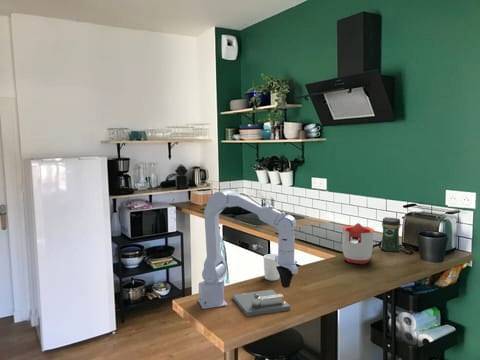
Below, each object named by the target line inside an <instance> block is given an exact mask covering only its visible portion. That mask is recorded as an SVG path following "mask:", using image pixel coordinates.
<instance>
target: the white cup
mask: <svg viewBox="0 0 480 360" xmlns="http://www.w3.org/2000/svg"><path fill="white" fill-rule="evenodd" d="M275 256H278V253H277V254H276V253H269V254H265V255H263V271H264V279H265V280H268V281H278V280H279V279H280V275H279V273H278V270H277V268H276V267H277V266H280V265H278V264H277V262H276V261H275Z"/></svg>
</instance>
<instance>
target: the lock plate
mask: <svg viewBox="0 0 480 360" xmlns="http://www.w3.org/2000/svg"><path fill="white" fill-rule="evenodd" d="M277 294H278V293H277V292H276V291H275V290H273V289H266V290H259V291H251V292H245V293H243V292H242V293H235V294H232V299H233V301H234V302H235V303H236V305H237V306H238V308H240V310H241V311H242V312H243V314H244V315H245V316H246V317H252V316H259V315H264V314H265V315H266V314H272V313H278V312H285V311H290V310H291V305H290V304H289V303H288V302H287V301H285V300H284V303H279V304H272V305H265V306H261V307H260V308H254V307H252V296H254V297H255V298H258V297H259V296H261V297H262V296H269V295H277Z"/></svg>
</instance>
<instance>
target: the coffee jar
mask: <svg viewBox="0 0 480 360" xmlns="http://www.w3.org/2000/svg"><path fill="white" fill-rule="evenodd" d="M400 219H401V218H395V217H387V216H385V217H383V219H382V222H381V227H382V238H381V246H380V248H381V250H382V249H383V250H382V251H386V250H387V252H393V251H394V252H399V251H400V236H399V235H400V228H401V220H400ZM394 252H393V253H394Z"/></svg>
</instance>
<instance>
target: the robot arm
mask: <svg viewBox="0 0 480 360" xmlns="http://www.w3.org/2000/svg"><path fill="white" fill-rule="evenodd" d="M233 207H239V208H242V209H243V210H246V211H248V212H250V213H253V214H255V215H257V217H258V219H259V220H260V221H262V222H263V223H265V224H268V226H269V225H270V226H272V227H274V228H276V229H277V231H278V238H277V239H278V241H277V243H278V244H277V255H278V256H275V261H276V262H277V264H278V265H280V266H277V267H276V268H277V270H278V273H279V275H280V277H279V279H280V283H281V287H283V288H284V289H286V288H287V289H288V288H290V285H291V283H292V279H293V276H294V274H295V275H296V274H299V268H298V267H297V265H296V264H297V263H298V261H297V260H296V259H295V246H296V245H295V242H296V241H295V239H296V238H295V237H296V236H295V229H296V227H297V220H296V218H295V217H294V216H293V215H292V214H290V213H287V214H286V212H285V211H283V212H282V211H279V210H278V209H275V208H274V206H273V205H264V206H262V205H260V204H259V203H256V202H255V201H253V200H251V199H249V198H247V197H245V196H244V195H242V194H241V193H239V192H238V191H236V190H235V191H234V190H233V189H230V188H225V189H222V190H220V191H216V192H214V193H212V194H211V195H210V196H209V197H208V201H207V203H206V206H205V208H204V211H203V213H204V215H203V216H204V229H205V231H204V232H205V250H206V258H205V260H204V262H203V269H202V271H201V277H202V280H203V281H201V282H199V283H198V300H197V301H198V303H199V305H200V306H201V308H202V309H204V310H206V309H212V308H219V307H227V306H228V303H227V302H226V300H225V292H224V291H225V290H224V289H225V279H224V278H225V277H224V275H225V274H226V272H227V265H226V263H225V261H224V260H225V259H224V257H223V256H222V252H221V233H220V218H219V217H220V216H219V215H221V213H222V212H223V211H224V210H225V209H227V208H233Z"/></svg>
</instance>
